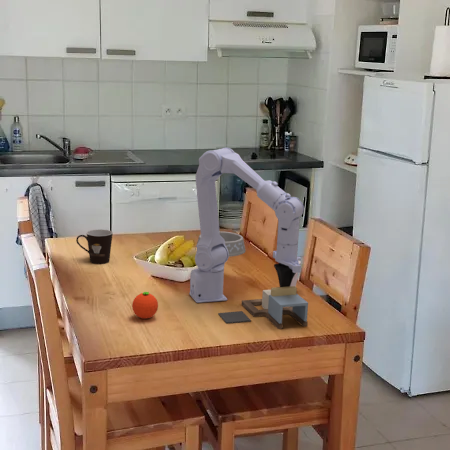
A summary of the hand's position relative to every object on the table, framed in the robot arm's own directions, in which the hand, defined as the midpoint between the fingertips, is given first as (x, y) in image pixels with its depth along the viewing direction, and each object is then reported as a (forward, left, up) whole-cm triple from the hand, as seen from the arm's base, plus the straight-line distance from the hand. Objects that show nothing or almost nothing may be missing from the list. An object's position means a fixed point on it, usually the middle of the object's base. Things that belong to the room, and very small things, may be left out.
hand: (284, 289), depth 195 cm
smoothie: (+10, +18, -8) cm, 22 cm away
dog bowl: (+3, +66, -8) cm, 67 cm away
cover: (-1, -5, -6) cm, 8 cm away
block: (-1, +6, -8) cm, 9 cm away
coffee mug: (-43, +61, -8) cm, 75 cm away
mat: (-14, +1, -7) cm, 16 cm away
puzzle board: (-1, +1, -7) cm, 8 cm away
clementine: (-38, +7, -8) cm, 39 cm away
